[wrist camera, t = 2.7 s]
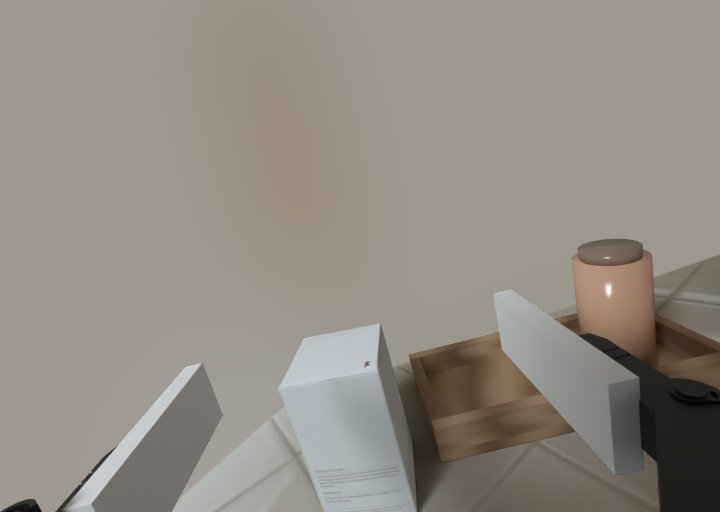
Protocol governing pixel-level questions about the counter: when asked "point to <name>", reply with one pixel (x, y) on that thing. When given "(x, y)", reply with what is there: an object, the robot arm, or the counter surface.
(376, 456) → the supplement box
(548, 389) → the robot arm
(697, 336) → the walnut two-slot caddy
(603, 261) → the terracotta jar
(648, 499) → the counter surface
